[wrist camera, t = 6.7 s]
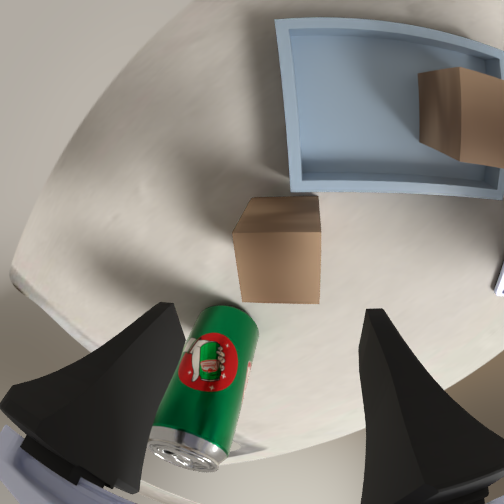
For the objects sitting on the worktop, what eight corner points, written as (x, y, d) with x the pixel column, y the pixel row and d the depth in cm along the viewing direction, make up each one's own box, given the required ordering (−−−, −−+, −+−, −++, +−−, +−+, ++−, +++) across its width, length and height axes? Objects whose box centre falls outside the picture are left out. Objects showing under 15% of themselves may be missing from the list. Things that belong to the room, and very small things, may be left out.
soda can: (233, 353, 25) (194, 475, 15) (188, 319, 24) (128, 442, 14) (273, 328, 22) (242, 472, 12) (224, 289, 21) (162, 435, 11)
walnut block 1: (318, 195, 17) (321, 232, 12) (318, 254, 19) (319, 303, 14) (251, 197, 18) (231, 232, 13) (257, 254, 19) (242, 302, 15)
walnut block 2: (417, 73, 11) (459, 66, 7) (474, 85, 10) (525, 88, 6) (419, 142, 13) (459, 161, 9) (474, 149, 12) (522, 172, 8)
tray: (485, 54, 9) (505, 51, 8) (484, 188, 14) (502, 200, 12) (278, 30, 12) (274, 19, 10) (292, 180, 16) (290, 192, 15)
